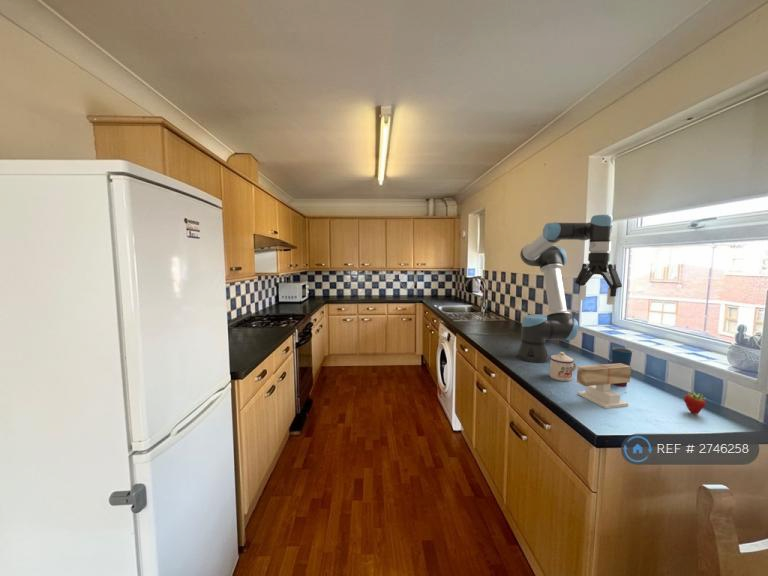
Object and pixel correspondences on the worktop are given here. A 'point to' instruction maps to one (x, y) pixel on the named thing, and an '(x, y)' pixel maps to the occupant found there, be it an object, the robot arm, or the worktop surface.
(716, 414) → the worktop surface
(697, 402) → the fruit
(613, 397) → the fulcrum
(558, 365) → the teacup with lid
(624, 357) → the cup
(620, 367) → the beam
